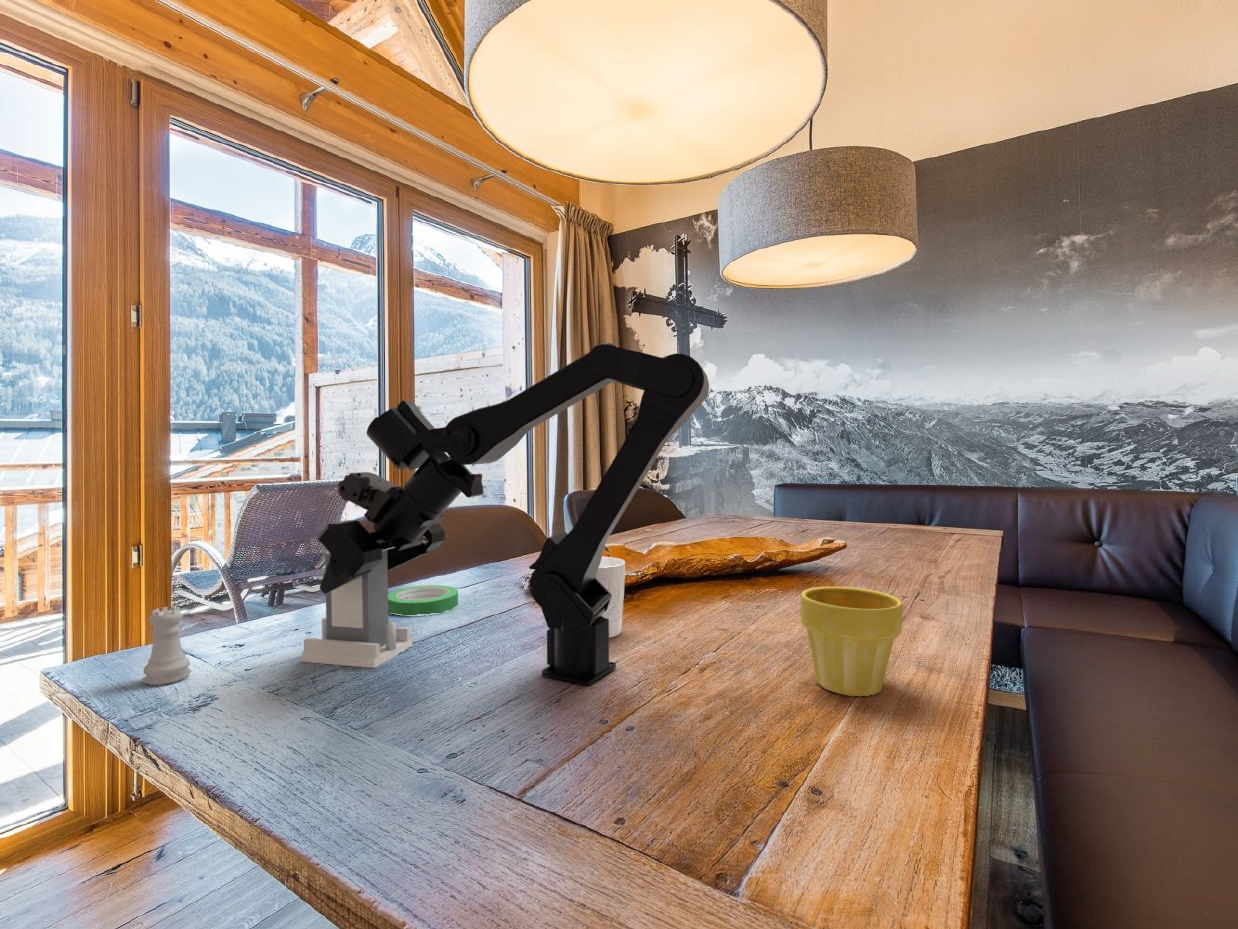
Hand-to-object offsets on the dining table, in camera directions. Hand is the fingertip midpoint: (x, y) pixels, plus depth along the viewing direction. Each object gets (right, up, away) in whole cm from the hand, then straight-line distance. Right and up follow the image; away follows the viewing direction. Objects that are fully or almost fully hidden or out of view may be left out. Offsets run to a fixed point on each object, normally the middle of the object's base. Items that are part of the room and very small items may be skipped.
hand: (348, 582), depth 77 cm
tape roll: (+2, -9, +22) cm, 24 cm away
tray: (+1, -9, 0) cm, 9 cm away
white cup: (+31, -9, +9) cm, 34 cm away
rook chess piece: (-17, -10, -8) cm, 21 cm away
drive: (+1, -8, 0) cm, 8 cm away
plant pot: (+60, -9, -11) cm, 61 cm away
